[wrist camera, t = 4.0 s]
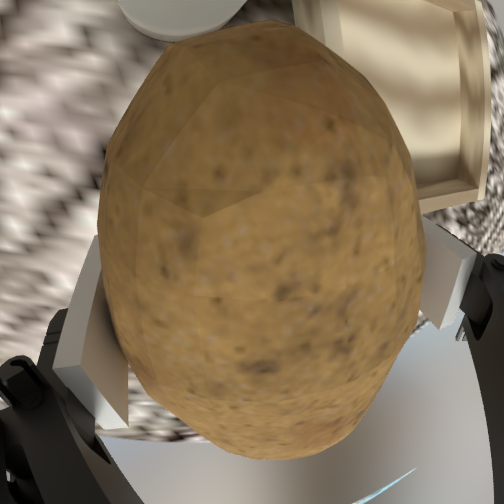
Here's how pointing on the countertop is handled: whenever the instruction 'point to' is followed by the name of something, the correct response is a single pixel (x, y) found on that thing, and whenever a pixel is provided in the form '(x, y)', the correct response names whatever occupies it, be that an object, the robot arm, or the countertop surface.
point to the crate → (420, 82)
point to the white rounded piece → (178, 17)
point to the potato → (260, 239)
